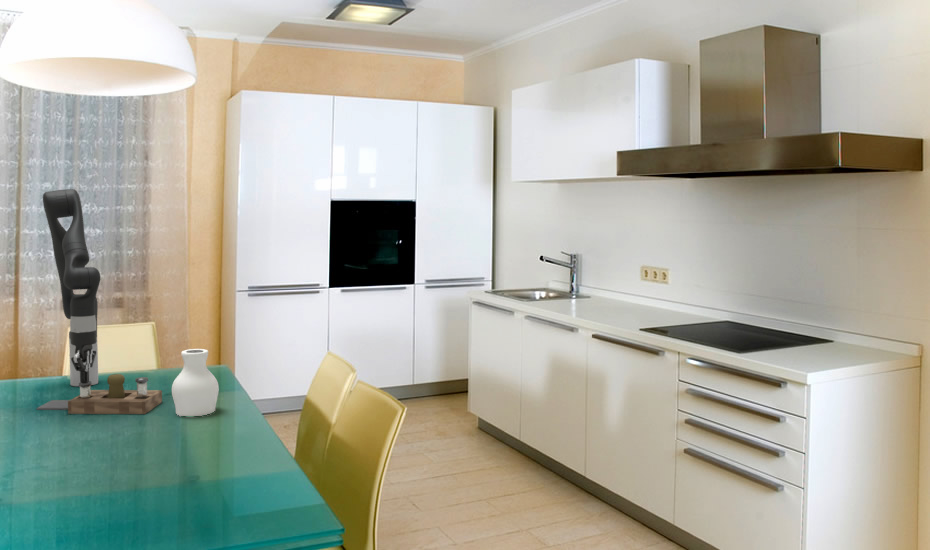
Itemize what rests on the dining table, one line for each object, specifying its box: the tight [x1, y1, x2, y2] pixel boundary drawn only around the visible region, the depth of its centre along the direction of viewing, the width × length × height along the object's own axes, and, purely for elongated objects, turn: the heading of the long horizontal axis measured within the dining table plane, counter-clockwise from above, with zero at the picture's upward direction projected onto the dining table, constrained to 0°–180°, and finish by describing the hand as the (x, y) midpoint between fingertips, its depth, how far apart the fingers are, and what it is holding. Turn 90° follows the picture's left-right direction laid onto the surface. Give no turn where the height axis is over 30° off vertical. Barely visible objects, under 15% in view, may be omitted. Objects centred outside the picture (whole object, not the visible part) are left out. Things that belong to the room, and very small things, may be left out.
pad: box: [36, 399, 70, 411], centre depth 249 cm, size 10×10×1 cm
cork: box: [106, 373, 126, 399], centre depth 248 cm, size 6×6×11 cm
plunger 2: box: [134, 376, 149, 399], centre depth 246 cm, size 4×4×8 cm
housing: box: [67, 389, 163, 415], centre depth 248 cm, size 15×24×4 cm, turn 93°
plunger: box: [78, 381, 93, 399], centre depth 245 cm, size 4×4×8 cm
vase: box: [171, 348, 220, 417], centre depth 244 cm, size 14×14×20 cm
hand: (84, 382), depth 245 cm, fingers closed
